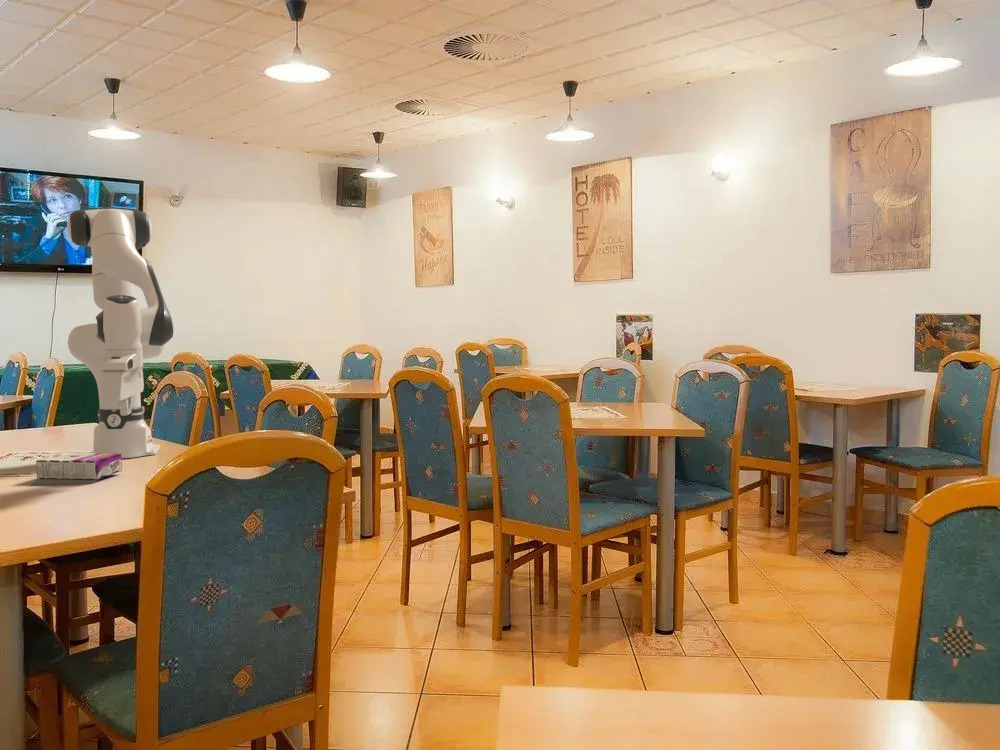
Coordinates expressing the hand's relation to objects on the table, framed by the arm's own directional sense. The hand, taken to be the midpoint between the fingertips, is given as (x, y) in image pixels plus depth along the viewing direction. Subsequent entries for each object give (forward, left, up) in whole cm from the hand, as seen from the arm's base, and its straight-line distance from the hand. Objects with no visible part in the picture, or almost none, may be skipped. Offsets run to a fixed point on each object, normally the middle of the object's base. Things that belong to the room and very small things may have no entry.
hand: (125, 414), depth 208 cm
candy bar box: (+1, -4, -13) cm, 14 cm away
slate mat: (+1, -13, -16) cm, 21 cm away
